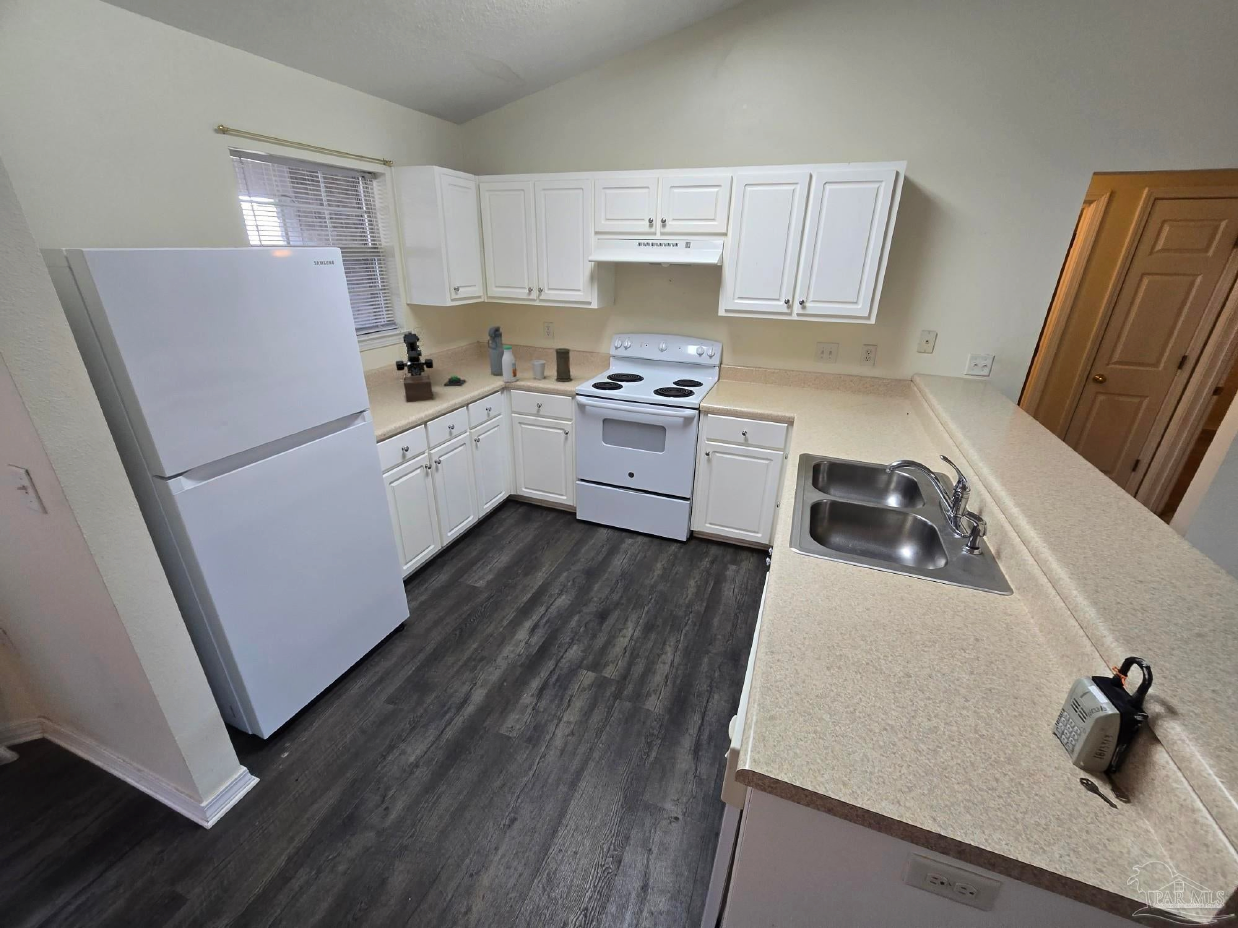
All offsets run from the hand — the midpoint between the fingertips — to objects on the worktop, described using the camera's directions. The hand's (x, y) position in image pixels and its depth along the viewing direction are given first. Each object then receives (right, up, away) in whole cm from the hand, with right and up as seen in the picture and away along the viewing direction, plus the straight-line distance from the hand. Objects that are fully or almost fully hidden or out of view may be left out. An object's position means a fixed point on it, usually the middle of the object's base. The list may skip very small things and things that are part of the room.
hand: (416, 377), depth 274 cm
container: (+77, +3, +25) cm, 80 cm away
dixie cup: (+61, +5, +29) cm, 68 cm away
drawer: (+3, -8, -5) cm, 10 cm away
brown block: (+6, -12, -11) cm, 18 cm away
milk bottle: (+46, +2, +22) cm, 51 cm away
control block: (+16, -1, +15) cm, 22 cm away
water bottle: (+35, +9, +39) cm, 53 cm away
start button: (+16, +2, +14) cm, 21 cm away
